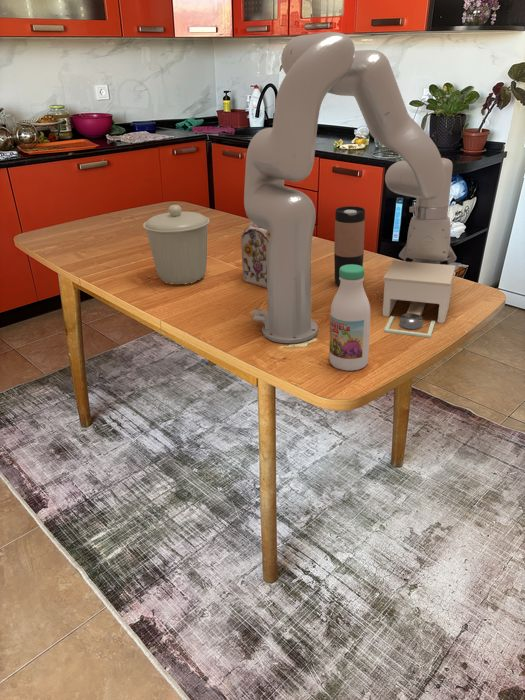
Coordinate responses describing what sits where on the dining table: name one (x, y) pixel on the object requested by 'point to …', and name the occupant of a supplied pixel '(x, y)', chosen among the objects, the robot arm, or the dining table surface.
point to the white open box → (418, 285)
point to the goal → (409, 331)
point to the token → (411, 321)
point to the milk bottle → (350, 321)
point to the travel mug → (348, 238)
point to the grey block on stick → (418, 306)
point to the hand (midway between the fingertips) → (424, 283)
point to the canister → (178, 245)
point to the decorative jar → (255, 254)
